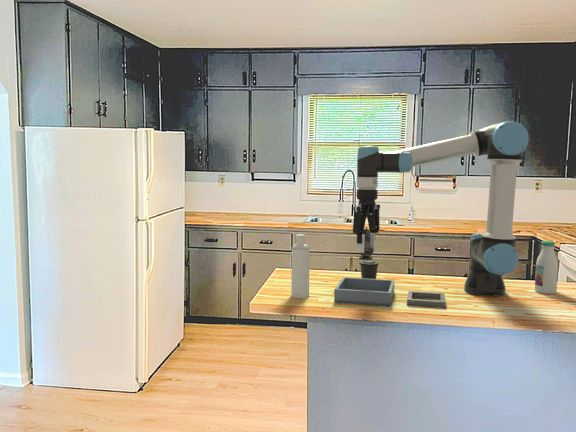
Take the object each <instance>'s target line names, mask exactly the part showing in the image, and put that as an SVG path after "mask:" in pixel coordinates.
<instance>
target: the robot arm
mask: <svg viewBox="0 0 576 432" xmlns="http://www.w3.org/2000/svg"><path fill="white" fill-rule="evenodd" d="M529 140H530V139H529V133H528V130H527V128H525V126H524V125H523V124H521V123H519V122H517V121H513V120H512V121H511V120H507V121H505V120H504V121H501V122H498V123H497V122H496V123H493V124H491V125H488V126H487V127H483V128H480V129H477V130H472V131H471V132H470V133H469V134H467V135H462V136H457V137H454V138H448V139H444V140H439V141H436V142H435V141H434V142H430V143H427V144H426V143H425V144H422V145H417V146H413V147H409V148H403V149H399V150H394V151H381V150H379V147H378V146H377V145H375V146H373V145H365V146H364V145H363V146H360V147H357V148H358V149H357V157H356V159H357V160H356V162H357V164H356V175H357V176H356V188H357V190H356V199H357V200H358V203H357V204H358V205H353V207H352V211H353V219H352V220H353V221H352V223H353V224H352V233H353V234H354V235H356V252H357V253H359V252H360V253H364V240H365V235H363V232H364V229H365V228H366V221H367V224H368V229H369V230H370V239H371V240H370V246H371V248H372V249H374V250H373V252H374V251H375V250H376V234H378V233H379V231H380V228H381V227H380V226H381V225H380V208H381V204H378V203H377V204H376V200H378V189H377V188H378V185H379V184H378V182H379V181H378V179H379V178H378V177H379V175H378V174H379V173H391V174H392V173H397V174H398V173H401V174H403V173H410V172H411V171H412V169H413V168H416V167H420V166H424V165H428V164H435V163H438V162H444V161H445V162H446V161H448V160H453V159H458V158H462V157H463V158H464V157H466V156H468V157H469V156H472V155H473V156H474V157H480V156H481V157H482V156H487V159H486V160H487V161H488V162H489V163H490V165H491V166H490V175H489V176H490V179H489V190H488V203H487V205H488V206H487V215H486V217H487V218H486V229H485V231H484V232H482V233H472V234H471V236H470V237H471V238H470V241H469V243H470V251H469V253H470V254H469V256H470V257H469V273H468V274H467V277H466V279H465V282H464V286H463V289H464V290H463V291H465V292H466V293H468V294H470V295H475V296H480V297H481V296H482V297H500V296H504V295H506V291H507V290H506V285H505V280H504V278H503V276H504V275H508V274H509V273H512V272H513V271H514V270H515V269H516V268H517V265H518V264H519V260H520V259H519V254H518V251H517V249H516V244H517V243H516V242H517V241H516V240H517V237H516V236H515V235H514V233H513V222H514V210H515V209H514V208H515V200H516V199H515V198H516V197H515V196H516V185H517V174H518V173H517V172H518V165H519V164H520V163H522V162H523V159H524V157H523V156H524V151H525V150H526V148H527V146H528V144H529ZM360 253H359V254H360Z"/></svg>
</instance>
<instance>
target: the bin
mask: <svg viewBox="0 0 576 432" xmlns="http://www.w3.org/2000/svg"><path fill="white" fill-rule="evenodd" d="M333 291H334V295H333V297H334V299H333V301H334V302H333V303H334V304H345V305H347V304H348V305H359V306H371V307H372V306H374V307H388V308H392V307H391V306H392V303H393V299H394V296H395V279H377V278H376V279H365V278H362V277H345V276H344V277H343V276H342V278H341V279H340V280H339V282H338V284H337V285H336V286H335V288H334V290H333Z"/></svg>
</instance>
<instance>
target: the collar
mask: <svg viewBox="0 0 576 432" xmlns="http://www.w3.org/2000/svg"><path fill="white" fill-rule="evenodd" d="M445 295H446V294H445V293H444V292H431V291H430V292H427V291H414V290H408V291H407V298H406V299H407V300H406V306H409V307H410V306H411V307H423V306H424V307H425V308H427V307H428V308H437V307H439V308H442V309H446V297H445ZM416 298H417V299H416ZM429 299H431V300H429ZM432 299H433V300H432ZM439 308H438V309H439Z"/></svg>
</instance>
